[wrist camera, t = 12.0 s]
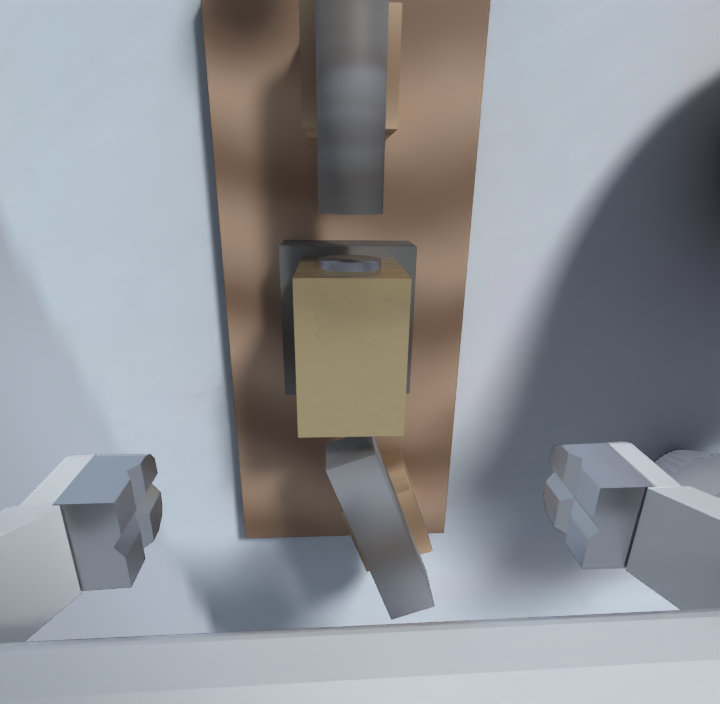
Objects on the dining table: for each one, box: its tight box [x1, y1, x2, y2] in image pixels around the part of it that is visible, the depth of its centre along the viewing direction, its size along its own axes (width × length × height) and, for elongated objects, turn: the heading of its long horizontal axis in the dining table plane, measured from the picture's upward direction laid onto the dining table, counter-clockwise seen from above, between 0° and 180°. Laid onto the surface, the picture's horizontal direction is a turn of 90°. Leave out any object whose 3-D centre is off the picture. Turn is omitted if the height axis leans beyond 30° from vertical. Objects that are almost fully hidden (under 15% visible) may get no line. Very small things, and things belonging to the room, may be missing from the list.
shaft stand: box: [201, 0, 490, 620], centre depth 22 cm, size 28×12×8 cm, turn 179°
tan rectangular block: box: [292, 255, 412, 438], centre depth 19 cm, size 7×4×5 cm, turn 179°
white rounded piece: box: [655, 450, 720, 498], centre depth 27 cm, size 6×6×7 cm
